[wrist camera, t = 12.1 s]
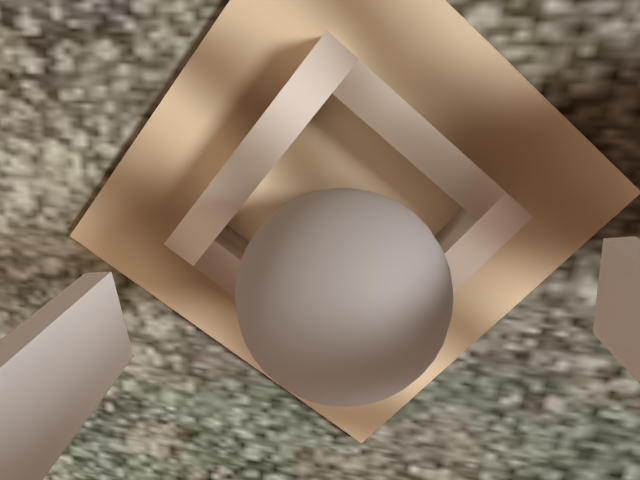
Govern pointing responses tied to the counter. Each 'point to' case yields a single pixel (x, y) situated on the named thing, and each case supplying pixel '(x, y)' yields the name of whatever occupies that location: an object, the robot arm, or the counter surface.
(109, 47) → the counter surface
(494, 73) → the socket base
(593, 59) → the counter surface
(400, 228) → the lightbulb
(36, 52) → the counter surface
